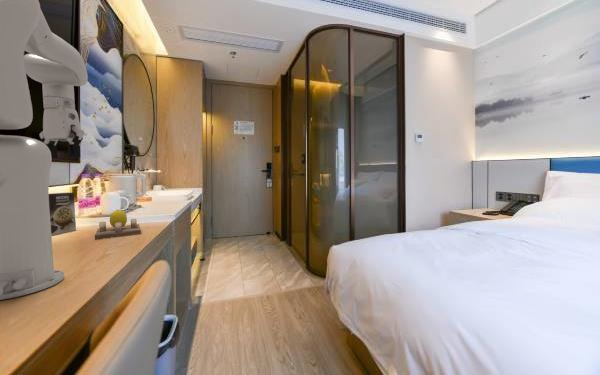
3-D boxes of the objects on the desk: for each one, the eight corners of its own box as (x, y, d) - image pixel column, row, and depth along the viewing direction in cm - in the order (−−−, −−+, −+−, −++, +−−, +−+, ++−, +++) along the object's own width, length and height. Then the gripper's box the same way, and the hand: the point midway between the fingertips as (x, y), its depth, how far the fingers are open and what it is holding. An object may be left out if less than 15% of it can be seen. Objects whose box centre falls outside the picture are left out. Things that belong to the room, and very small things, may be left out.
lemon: (126, 227, 104) (124, 208, 103) (128, 229, 100) (127, 209, 99) (109, 229, 100) (108, 209, 99) (111, 231, 96) (110, 211, 95)
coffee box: (51, 236, 97) (48, 194, 96) (38, 235, 98) (35, 194, 97) (77, 230, 106) (74, 192, 105) (65, 230, 107) (62, 192, 106)
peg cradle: (140, 233, 98) (140, 221, 98) (94, 239, 90) (94, 226, 90) (139, 227, 110) (138, 216, 110) (98, 232, 102) (97, 220, 101)
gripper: (92, 106, 85) (95, 157, 85) (52, 110, 88) (55, 159, 89) (67, 99, 77) (71, 155, 78) (25, 104, 81) (29, 158, 82)
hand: (62, 157), depth 84 cm, fingers open, 9 cm apart
